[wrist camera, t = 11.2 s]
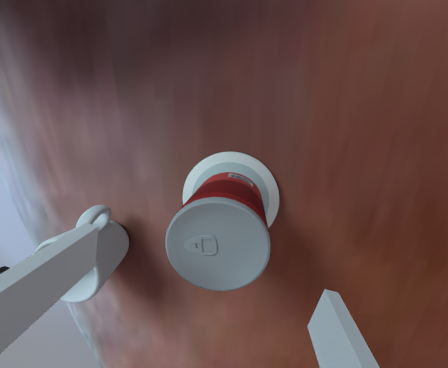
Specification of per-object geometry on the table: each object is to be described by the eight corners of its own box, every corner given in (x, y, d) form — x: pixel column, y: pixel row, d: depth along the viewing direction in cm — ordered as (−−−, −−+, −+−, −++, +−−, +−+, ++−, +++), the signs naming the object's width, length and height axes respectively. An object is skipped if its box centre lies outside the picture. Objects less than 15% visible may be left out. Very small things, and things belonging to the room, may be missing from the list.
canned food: (188, 181, 26) (148, 216, 16) (251, 161, 25) (252, 185, 14) (209, 236, 28) (185, 301, 17) (269, 220, 26) (283, 281, 16)
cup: (94, 184, 29) (37, 204, 21) (148, 206, 29) (111, 233, 21) (80, 249, 32) (26, 288, 24) (130, 269, 32) (91, 314, 24)
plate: (177, 227, 29) (174, 230, 28) (194, 140, 26) (192, 140, 25) (262, 251, 28) (263, 255, 28) (291, 165, 25) (293, 166, 24)
